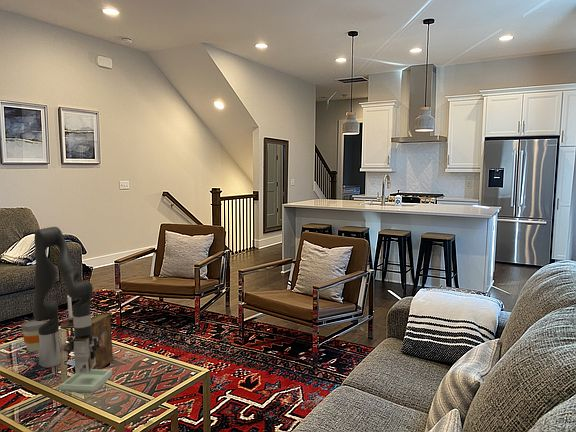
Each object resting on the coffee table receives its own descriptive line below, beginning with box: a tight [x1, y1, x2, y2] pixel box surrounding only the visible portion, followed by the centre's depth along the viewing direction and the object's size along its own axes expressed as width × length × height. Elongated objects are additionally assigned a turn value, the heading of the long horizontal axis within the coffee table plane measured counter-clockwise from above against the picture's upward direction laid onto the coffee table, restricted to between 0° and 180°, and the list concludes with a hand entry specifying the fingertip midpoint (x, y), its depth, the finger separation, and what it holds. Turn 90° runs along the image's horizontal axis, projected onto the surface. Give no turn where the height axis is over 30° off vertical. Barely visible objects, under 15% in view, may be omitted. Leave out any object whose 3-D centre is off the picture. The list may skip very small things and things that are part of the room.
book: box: [91, 312, 114, 370], centre depth 220 cm, size 16×6×25 cm, turn 168°
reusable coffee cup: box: [21, 319, 48, 353], centre depth 244 cm, size 13×13×15 cm
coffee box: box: [73, 332, 96, 373], centre depth 201 cm, size 9×6×16 cm
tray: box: [59, 369, 113, 394], centre depth 203 cm, size 16×16×3 cm
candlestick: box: [59, 295, 75, 352], centre depth 242 cm, size 11×11×35 cm
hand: (85, 358), depth 202 cm, fingers closed on coffee box, 7 cm apart
